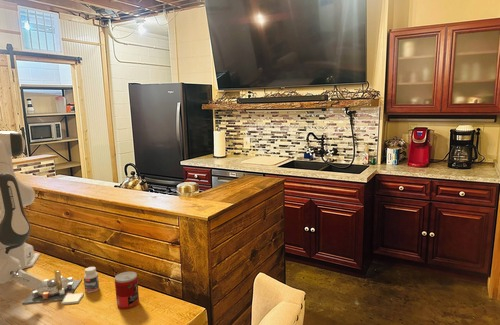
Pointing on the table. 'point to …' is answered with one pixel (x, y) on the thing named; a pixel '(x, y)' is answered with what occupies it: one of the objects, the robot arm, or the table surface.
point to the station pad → (72, 298)
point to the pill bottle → (91, 279)
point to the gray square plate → (52, 298)
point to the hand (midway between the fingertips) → (38, 284)
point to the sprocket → (54, 286)
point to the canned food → (126, 290)
